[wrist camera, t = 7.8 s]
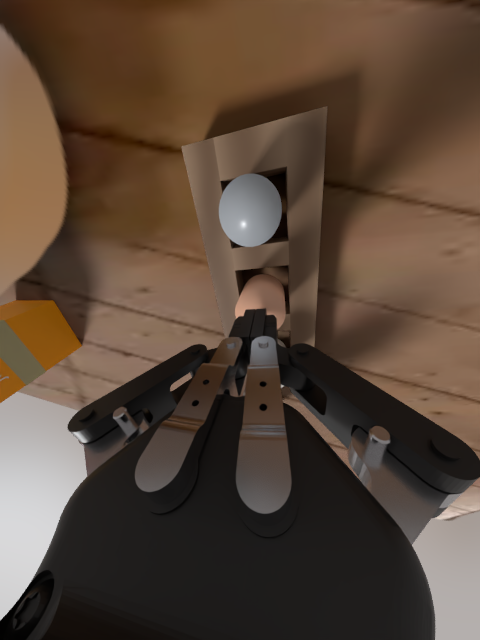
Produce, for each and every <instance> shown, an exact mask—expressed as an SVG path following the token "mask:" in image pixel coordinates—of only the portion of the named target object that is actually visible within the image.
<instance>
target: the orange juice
mask: <svg viewBox="0 0 480 640" xmlns="http://www.w3.org/2000/svg"><path fill="white" fill-rule="evenodd" d="M81 346H82V345H81V343H80V342H79V340H78V339H77V337H76V335H75V334H74V332H73V331H72V329H71V328H70V326H69V324H68V323H67V321H66V320H65V318H64V316H63V315H62V313H61V312H60V310H59V309H58V307H57V305H56V304H55V302H54V301H53V300H16V301H13V302H10V303H7V304H5V305H2V306H0V403H1V402H2V401H4V400H5V399H7V398H8V397H10V396H11V395H12V394H14V393H15V392H17V391H18V390H20V389H21V388H23V387H24V386H25V385H28V384H29V383H30V382H32V381H33V380H35V379H36V378H38V377H39V376H40V375H42V374H43V373H45V372H46V371H47V370H48V369H50V368H51V367H53V366H54V365H55V364H57V363H58V362H60V361H61V360H63V359H64V358H65V357H67V356H68V355H70V354H71V353H73V352H74V351H76V350H77V349H78V348H80V347H81Z"/></svg>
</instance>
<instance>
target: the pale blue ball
mask: <svg viewBox="0 0 480 640" xmlns="http://www.w3.org/2000/svg"><path fill="white" fill-rule="evenodd" d="M281 214H282V204H281V199H280V196H279V193H278V191H277V189H276V188H275V186H274V185H273V184H272V183H271V181H269V180H268V179H267V178H265V177H263V176H261V175H258V174H244V175H241V176H239V177H237V178H235V179H234V180H233V181H231V182H230V183H229V185H228V186H227V187H226V189H225V190H224V192H223V194H222V196H221V199H220V204H219V219H220V223H221V226H222V228H223V230H224V232H225V233H226V235H227V236H228V237H229V238H230V239H231V240H232V241H233V242H235V243H236V244H238V245H241V246H245V247H254V246H258V245H261V244H263V243H265V242H266V241H268V240H269V239H270V238H271V237H272V236H273V234H274V233H275V232H276V230H277V228H278V226H279V223H280V220H281Z"/></svg>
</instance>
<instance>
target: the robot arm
mask: <svg viewBox="0 0 480 640" xmlns="http://www.w3.org/2000/svg"><path fill="white" fill-rule="evenodd" d="M189 372H190V373H191V376H192V378H191V379H190V380H188V381H187V382H185V383H184V384H182V385H181V386H179V387H178V388H177V389H175V390H173V391H171V392H170V387H171V385H172V384H173V383H174V382H175V381H177V380H179V379H180V378H182V377H183V376H185V375H186V374H188V373H189ZM281 385H284V386H287V387H290V391H291V392H292V393H293V394H294V395H295V396H296V397H297V398H298V399H299V400H300V401H301V402H302V403H303V404H304V405H305V406H306V407H307V408H308V409H309V410H310V411H311V412H312V413H313V414H314V415H315V416H316V417H317V418H318V419H319V420H320V421H321V422H322V423H323V424H324V425H325V426H326V427H327V428H328V429H329V430H330V431H331V432H332V433H333V434H334V435H335V436H336V437H337V438H338V439H339V440H340V441H341V442H342V443H343V444H344V445H345V446H346V447H347V448H348V449H349V450H348V460H349V463H350V465H351V467H352V469H353V470H354V472H355V473H356V474H357V476H358V477H359V478H360V480H361V481H360V480H359V479H358V478H357V477H356V476H355V474H354V473H353V472H352V471H351V470H350V469H349V468H348V467H347V465H346V464H345V463H344V462H343V461H342V460H341V459H340V457H339V456H338V455H337V454H336V453H335V452H334V451H333V449H332V448H331V447H330V446H329V445H328V444H327V443H326V441H325V440H324V439H323V438H322V437H321V436H320V435H319V433H318V432H317V431H316V430H315V429H314V428H313V427H312V425H311V424H310V423H309V422H308V421H307V420H306V419H305V418H304V416H303V415H302V414H301V413H299V412H298V411H297V410H296V409H294V408H293V407H291V406H289V405H288V404H285V403H283V401H282V392H281ZM245 387H246V390H245ZM244 390H245V396H243V394H244ZM68 430H69V431H70V432H71V433H72V434H73V435H74V436H75V437H76V438H77V439H78V440H79V442H80V444H82V445H83V446H84V451H85V459H86V469H87V478H86V479H85V480H84V481H83V482H82V483H81V484H80V485H79V487H78V488H77V489H76V490H75V492H74V493H73V495H72V496H71V498H70V499H69V501H68V503H67V505H66V506H65V508H64V510H63V513H62V515H61V517H60V520H59V523H58V525H57V528H56V531H55V534H54V536H53V539H52V541H51V544H50V546H49V548H48V550H47V553H46V555H45V557H44V559H43V561H42V563H41V565H40V567H39V568H38V571H37V572H36V574H35V576H34V578H33V580H32V582H31V583H30V584H29V586H28V587H27V589H26V590H25V592H24V593H23V594H22V596H21V597H20V599H19V600H18V601H17V602H16V604H15V605H14V606H13V608H12V609H11V610H10V611H9V612H8V613H7V614H6V615H5V616H4V617H3V619H2V620H1V621H0V640H435V614H434V606H433V600H432V596H431V592H430V588H429V584H428V581H427V578H426V575H425V573H424V570H423V568H422V565H421V563H420V561H419V559H418V556H417V554H416V552H415V551H414V549H413V547H412V544H413V542H414V541H415V540H416V538H417V537H418V536H419V534H420V533H421V532H422V530H423V529H424V528H425V526H426V525H427V523H428V522H429V521H430V519H431V518H435V517H437V516H439V515H440V514H441V513H442V512H443V511H444V510H445V509H446V508H447V507H448V506H449V505H450V504H452V503H453V502H454V501H455V500H456V499H457V498H458V497H459V496H460V495H461V494H462V493H463V492H464V491H465V490H466V489H467V488H468V487H469V486H471V485H472V484H473V483H474V482H475V481H476V480H477V479H478V478H479V477H480V460H479V458H478V456H477V455H476V454H475V452H474V451H473V450H472V449H471V448H470V447H469V446H468V445H467V444H466V443H464V442H463V441H462V440H461V439H459V438H458V437H456V436H455V435H453V434H451V433H450V432H448V431H447V430H445V429H443V428H442V427H440V426H439V425H437V424H435V423H434V422H432V421H431V420H429V419H428V418H426V417H424V416H423V415H421V414H420V413H418V412H416V411H415V410H413V409H412V408H410V407H408V406H407V405H405V404H404V403H402V402H400V401H399V400H397V399H396V398H394V397H392V396H391V395H389V394H388V393H386V392H384V391H383V390H381V389H380V388H378V387H377V386H375V385H373V384H372V383H370V382H369V381H367V380H365V379H364V378H362V377H361V376H359V375H357V374H356V373H354V372H353V371H351V370H349V369H348V368H346V367H345V366H343V365H341V364H340V363H338V362H337V361H335V360H334V359H332V358H330V357H329V356H327V355H326V354H324V353H322V352H321V351H319V350H318V349H316V348H314V347H313V346H311V345H309V344H305V343H298V344H294V345H292V346H291V347H290V348H285V347H282V346H281V345H279V344H278V333H277V318H276V317H275V316H274V315H267V310H266V308H263V309H246V310H245V313H244V316H239V317H238V318H237V319H235V321H234V323H233V326H232V329H231V331H230V334H229V337H228V338H226V339H224V340H223V341H222V342H221V343H220V345H219V346H218V348H215V349H211V350H207V348H206V346H205V345H202V344H197V345H193V346H191V347H189V348H187V349H185V350H184V351H182V352H180V353H178V354H177V355H175V356H173V357H171V358H170V359H168V360H166V361H164V362H163V363H161V364H159V365H157V366H156V367H154V368H152V369H150V370H149V371H147V372H145V373H143V374H142V375H140V376H138V377H136V378H135V379H133V380H131V381H129V382H128V383H126V384H124V385H122V386H121V387H119V388H117V389H115V390H114V391H112V392H110V393H108V394H107V395H105V396H103V397H101V398H100V399H98V400H96V401H94V402H93V403H91V404H89V405H87V406H86V407H84V408H82V409H81V410H80V411H78V412H77V413H76V414H75V415H74V416H73V417H72V419H71V420H70V422H69V424H68Z"/></svg>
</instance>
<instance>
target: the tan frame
mask: <svg viewBox="0 0 480 640" xmlns="http://www.w3.org/2000/svg"><path fill="white" fill-rule="evenodd" d="M327 108H328V106H325V107H322V108H318V109H315V110H311V111H307V112H304V113H300V114H297V115H293V116H289V117H286V118H282V119H279V120H275V121H272V122H268V123H264V124H261V125H257V126H254V127H250V128H246V129H243V130H239V131H236V132H232V133H228V134H225V135H221V136H218V137H214V138H210V139H207V140H203V141H200V142H196V143H193V144H189V145H185V146H182V152H183V156H184V160H185V165H186V169H187V173H188V178H189V182H190V186H191V191H192V195H193V200H194V204H195V208H196V213H197V217H198V221H199V226H200V230H201V234H202V239H203V243H204V248H205V252H206V256H207V261H208V265H209V269H210V274H211V278H212V282H213V287H214V291H215V295H216V300H217V304H218V309H219V313H220V317H221V322H222V326H223V330H224V335H225V339H226V338H228V337H229V334H230V331H231V329H232V326H233V323H234V321H235V319H236V316H235V307H236V304H237V302H238V300H239V297H240V295H241V293H242V291H243V288H244V284H243V277H242V270H246V269H255V268H265V267H275V266H284V265H288V286H289V302H285V311H286V315H285V320H284V322H283V324H282V325H281V327H280V328H279V329H277V331H290V347H291V346H292V345H294V344H298V343H305V344H309V345H311V346H313V347H314V345H315V327H316V308H317V290H318V272H319V254H320V235H321V217H322V199H323V181H324V162H325V144H326V126H327ZM283 173H286V205H287V237H280V238H273V239H269V240H268V241H266V242H265V243H263V244H261V245H258V246H254V247H245V246H241V245H238V244H236V243H235V242H233V241H232V240H231V239H230V238H229V237H228V236H227V235H226V233H225V232H224V230H223V228H222V226H221V223H220V219H219V204H220V199H221V196H222V194H223V192H224V190H225V189H226V187H227V186H228V185H229V183H230V182H231V181H233V180H234V179H235V178H237V177H239V176H241V175H244V174H258V175H261V176H263V177H269V176H273V175H278V174H283Z"/></svg>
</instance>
